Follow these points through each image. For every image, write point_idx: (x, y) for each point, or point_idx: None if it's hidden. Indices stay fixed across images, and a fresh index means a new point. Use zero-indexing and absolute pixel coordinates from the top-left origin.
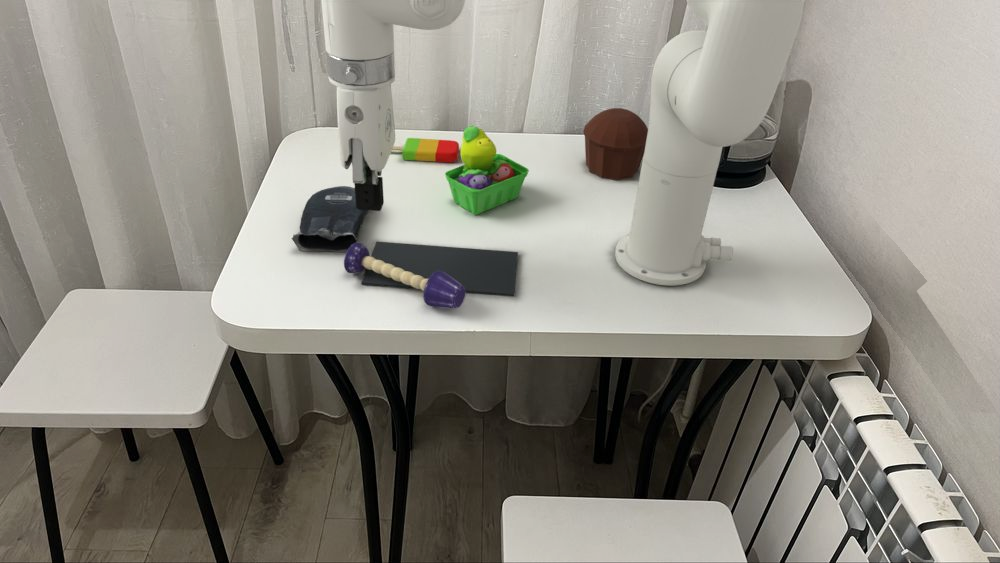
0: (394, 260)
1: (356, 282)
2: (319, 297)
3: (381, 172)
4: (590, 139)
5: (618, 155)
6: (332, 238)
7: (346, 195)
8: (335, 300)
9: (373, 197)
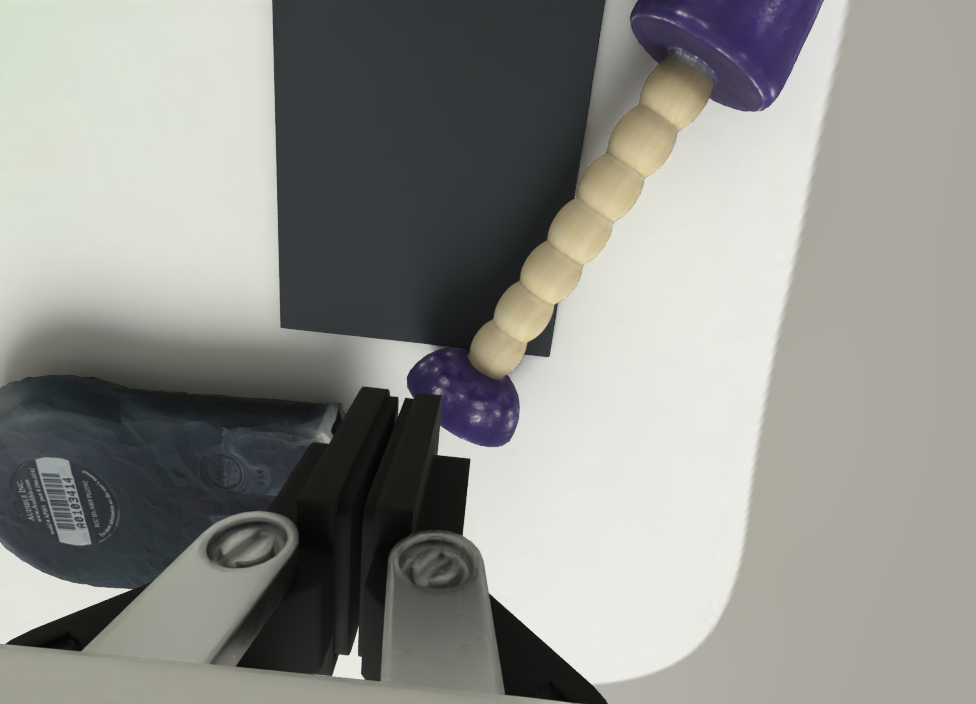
0: (405, 250)
1: (532, 370)
2: (611, 468)
3: (235, 520)
4: None
5: None
6: None
7: (37, 478)
8: (630, 422)
9: (458, 488)
